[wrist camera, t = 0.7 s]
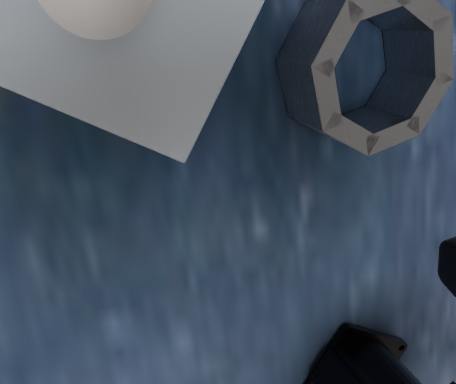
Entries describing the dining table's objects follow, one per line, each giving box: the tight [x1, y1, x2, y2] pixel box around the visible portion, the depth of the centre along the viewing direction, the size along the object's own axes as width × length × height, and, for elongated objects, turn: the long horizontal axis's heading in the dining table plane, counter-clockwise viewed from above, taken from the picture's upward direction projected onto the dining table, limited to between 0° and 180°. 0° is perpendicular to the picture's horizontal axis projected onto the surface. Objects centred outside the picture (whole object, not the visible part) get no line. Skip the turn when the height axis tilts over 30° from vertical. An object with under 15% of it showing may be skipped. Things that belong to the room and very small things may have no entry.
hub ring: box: [276, 0, 454, 156], centre depth 19 cm, size 7×7×4 cm
